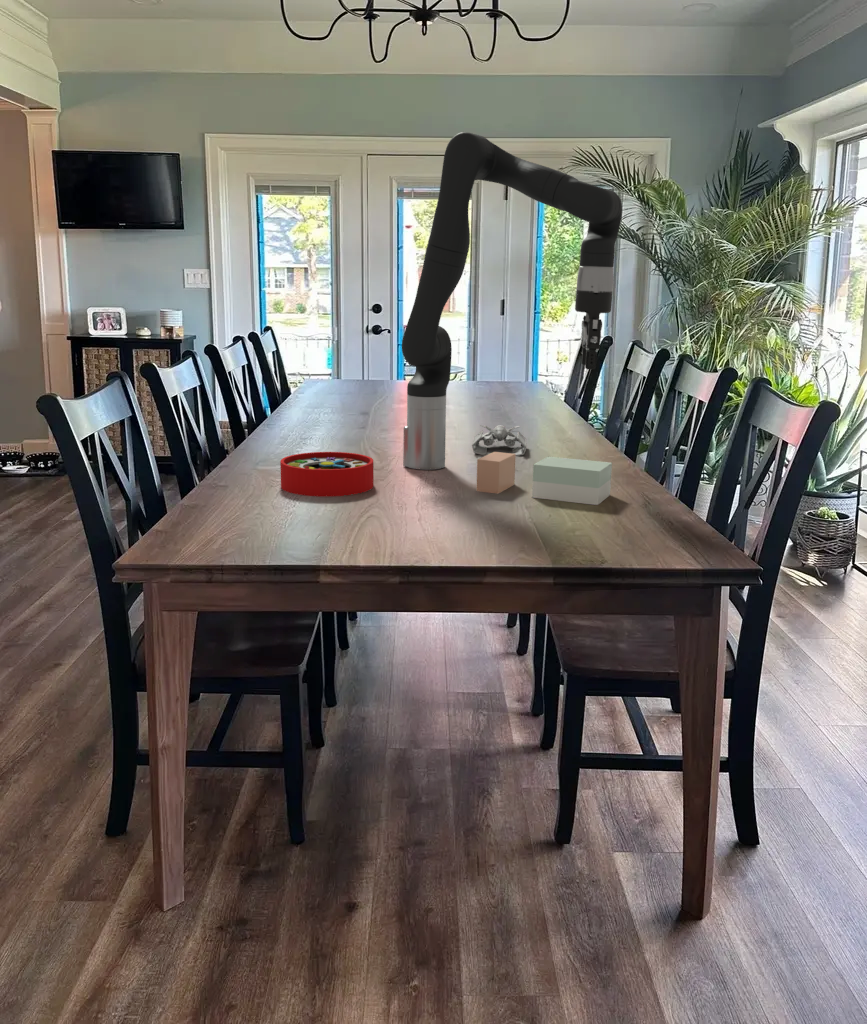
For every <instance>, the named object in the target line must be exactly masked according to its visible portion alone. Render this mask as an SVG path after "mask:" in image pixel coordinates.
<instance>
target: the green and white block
mask: <svg viewBox="0 0 867 1024" xmlns="http://www.w3.org/2000/svg"><path fill="white" fill-rule="evenodd" d="M612 470H613V462H609V461H608V462H607V461H599V460H589V459H588V460H587V459H579V458H568V457H567V458H566V457H559V456H546V457H544V458H543V459H541V460H539V461H537V462H536V463H533V467H532V487H531V489H532V491H531V492H532V493H531V498H532V499H533V498H535V499H543V500H551V501H557V502H558V501H559V502H569V503H576V504H577V503H578V504H585V505H593V506H594V505H595V506H599V505H600V504H601V503H602V502H603V501H605V500H606V499H607V498H608V497H610V496H611V485H612Z"/></svg>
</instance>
